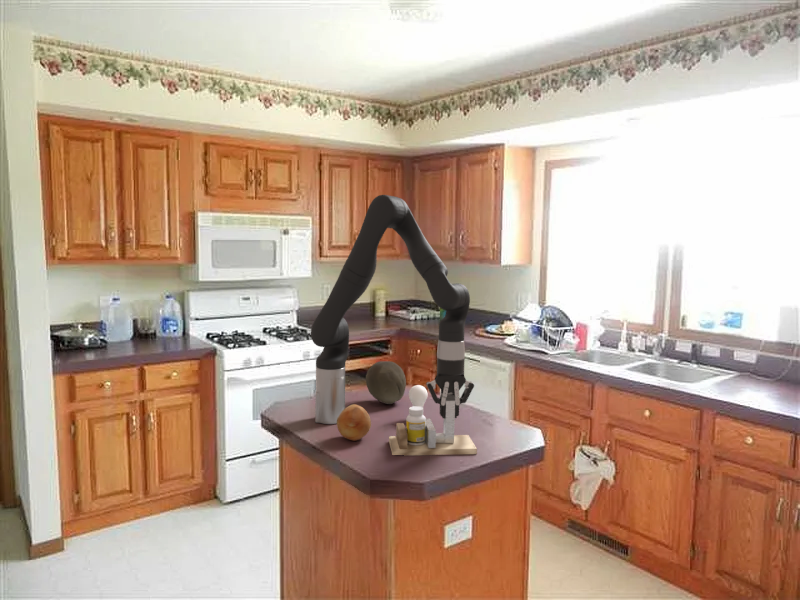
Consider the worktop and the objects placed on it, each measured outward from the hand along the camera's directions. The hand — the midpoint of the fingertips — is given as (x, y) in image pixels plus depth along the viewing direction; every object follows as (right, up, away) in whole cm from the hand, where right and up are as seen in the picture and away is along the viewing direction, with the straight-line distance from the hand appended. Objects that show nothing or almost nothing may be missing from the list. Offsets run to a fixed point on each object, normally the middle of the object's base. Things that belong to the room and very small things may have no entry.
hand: (449, 417), depth 161 cm
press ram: (-3, -7, 0) cm, 7 cm away
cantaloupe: (-19, -4, +43) cm, 47 cm away
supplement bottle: (-9, -7, 0) cm, 12 cm away
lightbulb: (-8, -6, +26) cm, 28 cm away
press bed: (-5, -9, 0) cm, 10 cm away
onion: (-27, -8, +6) cm, 29 cm away
